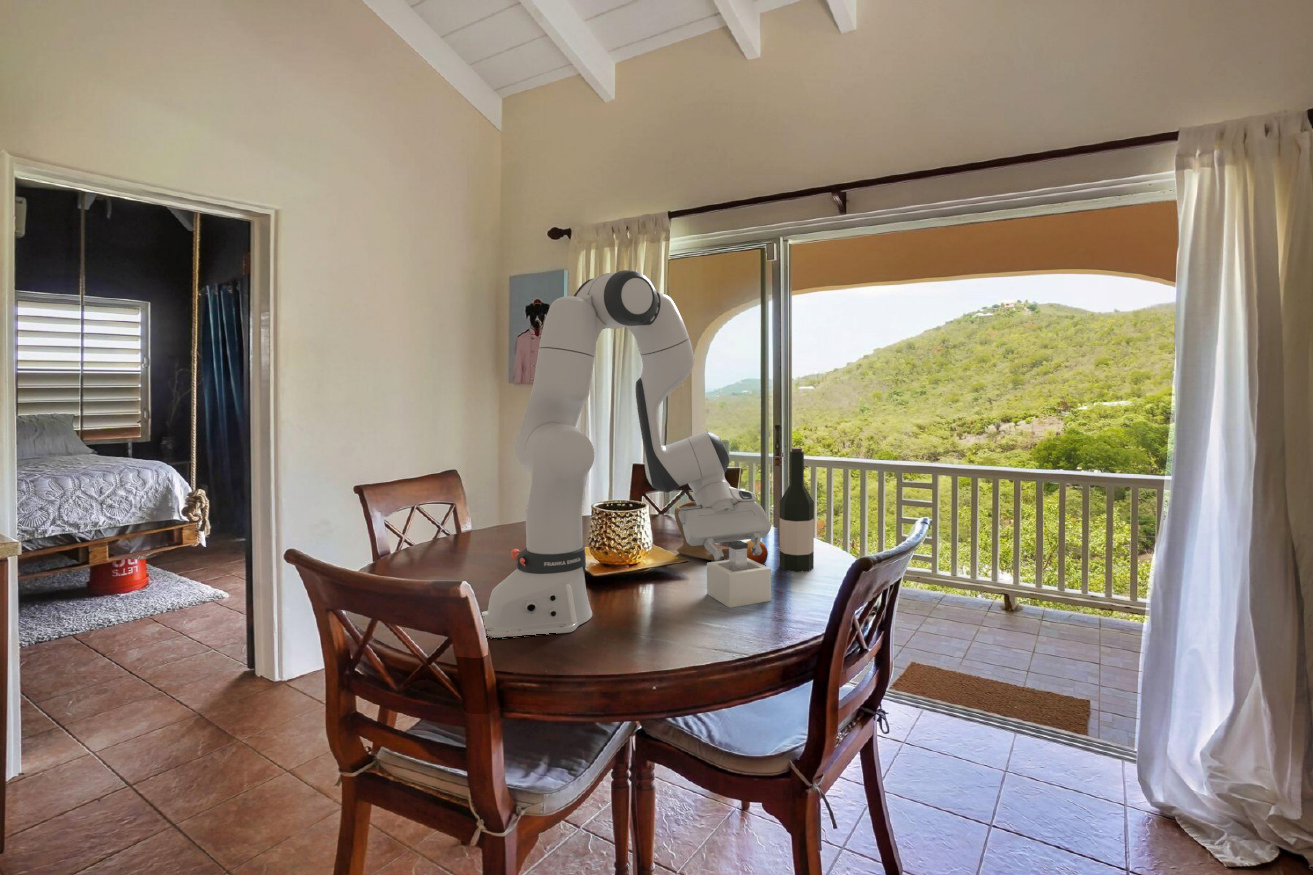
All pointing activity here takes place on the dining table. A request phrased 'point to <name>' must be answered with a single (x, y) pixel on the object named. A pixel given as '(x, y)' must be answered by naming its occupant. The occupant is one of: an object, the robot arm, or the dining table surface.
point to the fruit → (757, 558)
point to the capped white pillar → (737, 555)
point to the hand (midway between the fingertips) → (739, 556)
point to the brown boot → (697, 550)
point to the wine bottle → (796, 520)
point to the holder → (739, 583)
